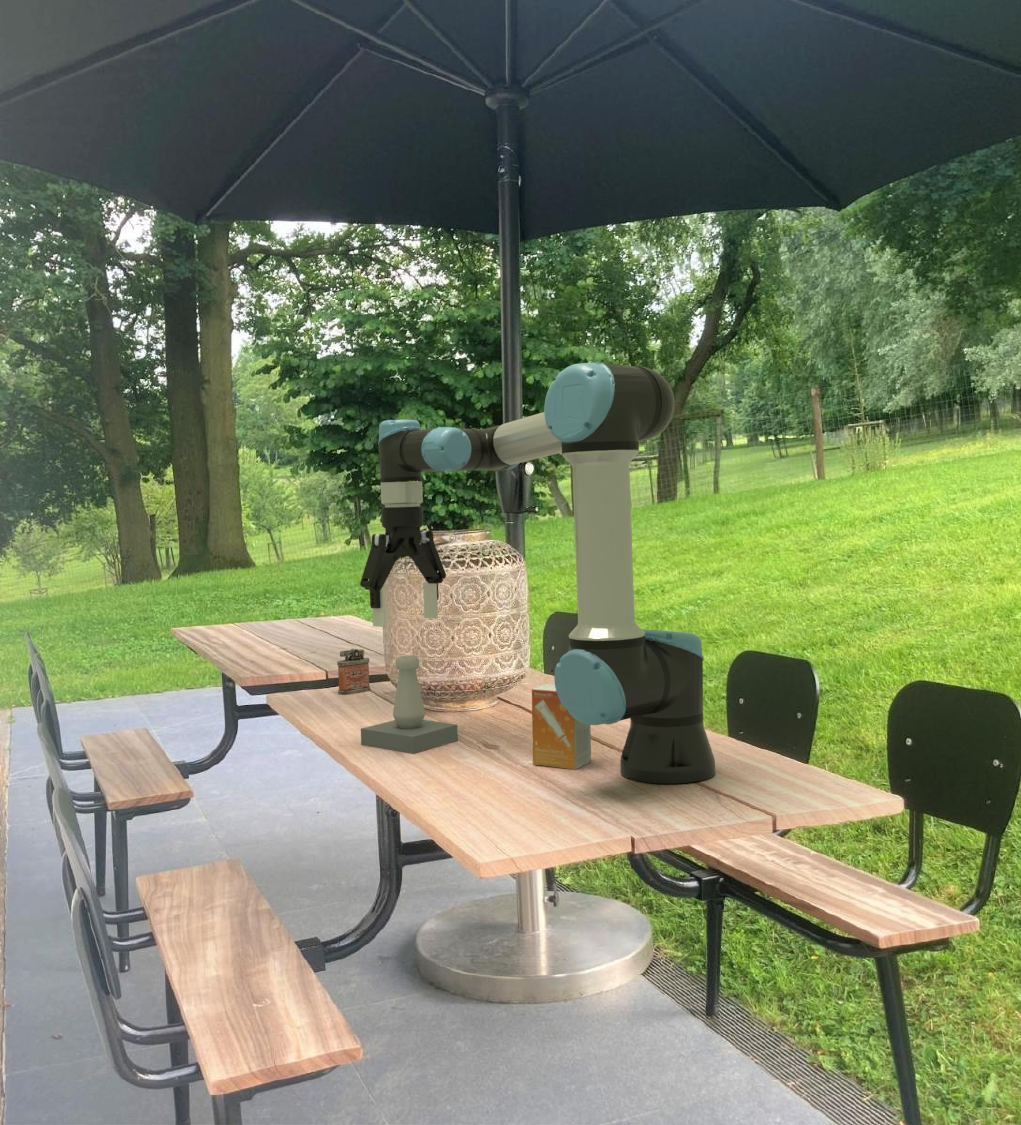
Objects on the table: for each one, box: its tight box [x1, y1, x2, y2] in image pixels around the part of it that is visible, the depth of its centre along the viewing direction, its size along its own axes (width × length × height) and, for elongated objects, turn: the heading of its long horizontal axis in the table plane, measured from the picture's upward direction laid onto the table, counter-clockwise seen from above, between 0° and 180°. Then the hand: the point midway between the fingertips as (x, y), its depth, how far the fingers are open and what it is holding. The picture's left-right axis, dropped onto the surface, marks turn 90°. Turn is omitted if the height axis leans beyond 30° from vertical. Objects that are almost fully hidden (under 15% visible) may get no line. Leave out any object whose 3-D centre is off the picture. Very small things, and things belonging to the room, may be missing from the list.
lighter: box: [336, 647, 371, 696], centre depth 271 cm, size 8×3×10 cm, turn 130°
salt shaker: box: [392, 655, 426, 729], centre depth 216 cm, size 6×6×13 cm
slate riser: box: [360, 719, 459, 754], centre depth 217 cm, size 13×12×3 cm
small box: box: [531, 682, 592, 771], centre depth 198 cm, size 8×6×13 cm
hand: (406, 622), depth 215 cm, fingers open, 13 cm apart
